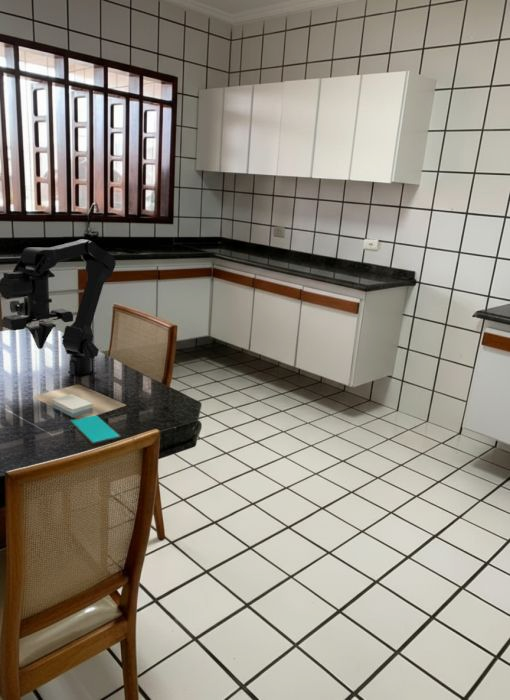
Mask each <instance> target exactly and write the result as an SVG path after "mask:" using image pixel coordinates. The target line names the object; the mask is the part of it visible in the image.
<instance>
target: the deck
mask: <svg viewBox="0 0 510 700" xmlns="http://www.w3.org/2000/svg"><path fill="white" fill-rule="evenodd" d="M52 403H53V407H52V408H53V409H55V410H57V411H59V412H61V413H63V414H65V415H67V416H69V417H71V418H73V417H76V416H79V415H82V414H85V413H88V412H92V411H93V403H90V402H88V401H86V400H84V399H82V398H80V397H77V396H75V395H73V394H71V395H67V396H64V397H60V398H56V399H53V400H52Z"/></svg>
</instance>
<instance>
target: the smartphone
mask: <svg viewBox="0 0 510 700" xmlns="http://www.w3.org/2000/svg"><path fill="white" fill-rule="evenodd" d="M69 422H70V423H71V424H72V425H73V427H74V428H75V429H76V430H77V431H78V432H79V434H81V435H82V436H83V438H85V440H87V442H89V443H90V444H91V445H94V446H95V445H97V444H102V443H105V442H110V441H114V440H118V439H119V440H120V439H122V436H121V434H120V433H118V432H117V431H116V430H115V429H114V428H112V427H111V425H109V424H108V423H107V422H106V421H105V420H103V418H101V417H100V416H99V415H95V416H90V417H85V418H80V420H78V419H75V418H73V419H69Z"/></svg>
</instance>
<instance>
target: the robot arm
mask: <svg viewBox="0 0 510 700" xmlns="http://www.w3.org/2000/svg"><path fill="white" fill-rule="evenodd" d="M77 257H81V260H83V261H84V262H85V272H86V276H87V280H86V283H85V287H84V288H83V289H84V290H83V294H82V297H81V298H80V299H81V300H80V302H79V303H80V304H79V307H78V310H77V313H76V316H75V320H74V314H73V312H72V311H70V310H67V309H64V308H58V309H57V308H56V309H52V310H50V303H52V302H53V299H52V298H51V297H50V288H49V287H50V286H49V279H50V278H54V277H55V276H56V275H55V273H53V272H52V271H51V270H50V269H52V268H54V267H55V266H56V265H57V264H58V263H60V262H63V261H67V260H70V259H73V258H77ZM116 263H117V262H116V260H115V257H114V256H113V254H110V253H109V252H107V251H106V250H105V249H103V248H102V247H100V246H99V245H97V244H96V243H95V242H94V241H92V240H89V239H78V240H75V241H70V242H66V243H64V244H59V245H55V246H51V247H40V246H39V247H38V246H37V247H25V248H24V249H23V250H22V253H21V255H20V257H19V259H18V261H17V263H16V265H15V266H14V268H13V270H12V272H8V271H7V272H6V271H5V272H3V277H2V278H0V296H1V297H2V298H3V299H5V300H11V301H9V310H10V312H11V313H12V315H5V316H3V317H2V319H1V327H3V328H5V329H8V330H11V331H19V330H24V329H27V330H28V331H29V332H30V334H31V336H32V338H33V340H34V343H35V345H36V348H37V349H39V350H41V349H43V347H44V345H45V343H46V342H47V339H48V337H49V336H50V334H51V332H52V330H53V329H54V328H56V326H57V324H54V321H56V320H61V321H62V322H63V323H70V322H73V323H72V324H71V325H66V326H65V328H64V333H63V335H62V337H61V339H62V346H63V347H64V349H65V352H66V355H70V360H69V370H68V371H67V373H68V374H71V375H73V376H75V377H78V378H84V377H87V376H88V377H89V376H92V375H95V374H98V373H97V371H95V370H94V369H95V368H94V367H95V366H94V358H95V357H97V356H98V354H99V348H98V347H97V346H96V345H95V344H94V343H93V340H94V334H93V330H92V323H93V321H94V317H95V313H96V310H97V307H98V304H99V301H100V297H101V294H102V291H103V287H104V284H105V283H106V282H107V280H108V279H110V278H111V277H112V275H113V273H114V270H115V267H116ZM16 298H17V299H18V298H23V302H20V301H19V300H12V299H16ZM15 313H16V314H15ZM22 316H24V317H22Z"/></svg>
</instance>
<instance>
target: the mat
mask: <svg viewBox="0 0 510 700" xmlns="http://www.w3.org/2000/svg"><path fill="white" fill-rule="evenodd" d="M71 394H73V395H75V396H77V397H80V398H82V399H84V400H86V401H88V402H90V403H93V411H92V412H88V413H85V414H82V415H79V416H76V417H72V418H73V419H78V420H80V418H85V417H90V416H95V415H98V416H99V415H102V414H104V413H108V412H111V411H114V410H118V409H120V408H124V407H127V404H125V403H123V402H121V401H118V400H116V399H113V398H111V397H109V396H106V395H105V394H102V393H100V392H99V391H98V392H97V391H96V390H93V389H90V388H89V387H85V386H83V385H81V384H79V383H78V384H74V385H70V386H66V387H62V388H59V389H55V390H51V391H47V392H43V393H41V394H37V395H32V396H31V397H32V398H34V399H35V400H37V401H40V402H42V403H43V404H46V405H48V406H49V407H51V408H53V403H52V400H53V399H56V398H60V397H64V396H67V395H71Z"/></svg>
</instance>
